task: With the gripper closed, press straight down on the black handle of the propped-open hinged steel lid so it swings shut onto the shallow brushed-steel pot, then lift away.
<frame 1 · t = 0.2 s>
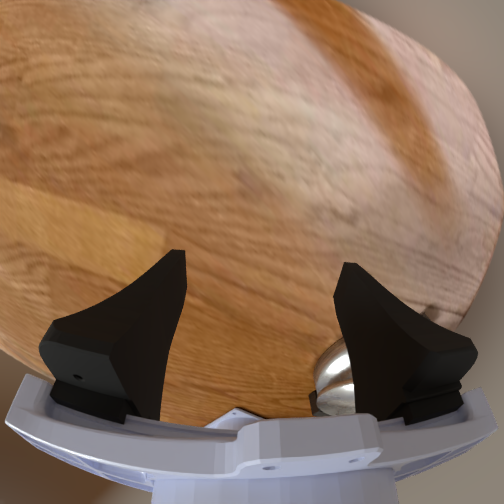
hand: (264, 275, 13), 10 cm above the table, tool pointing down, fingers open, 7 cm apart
pot: (362, 365, 29), on the table
lid: (385, 401, 23), point 6 cm above the table, hinge at 22.0°
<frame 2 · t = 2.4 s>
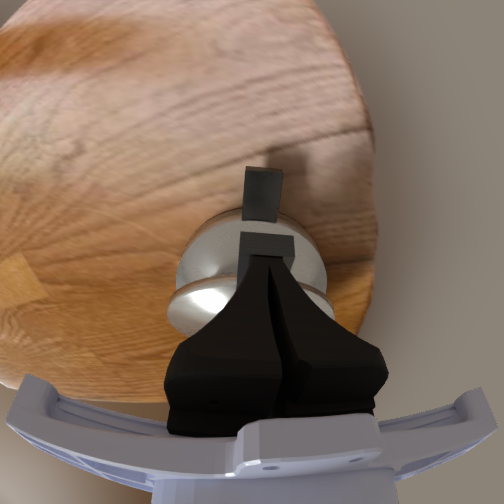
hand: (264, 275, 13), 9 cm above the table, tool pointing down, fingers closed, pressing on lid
pot: (251, 273, 24), on the table
lid: (252, 319, 18), point 6 cm above the table, hinge at 22.0°, touching gripper
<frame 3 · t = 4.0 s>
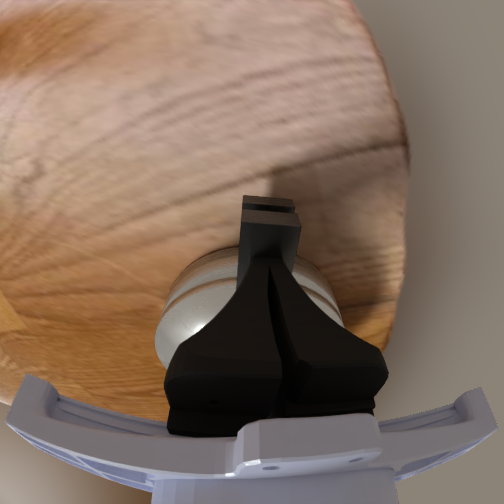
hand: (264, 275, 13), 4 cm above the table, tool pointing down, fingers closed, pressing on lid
pot: (251, 319, 19), on the table
lid: (253, 344, 15), point 4 cm above the table, hinge at 1.2°, touching gripper
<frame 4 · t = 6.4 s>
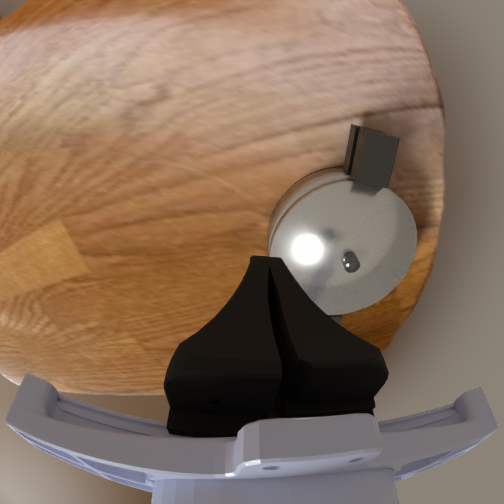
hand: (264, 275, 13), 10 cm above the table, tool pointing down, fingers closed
pot: (337, 235, 23), on the table
lid: (355, 239, 19), point 4 cm above the table, hinge at 1.2°
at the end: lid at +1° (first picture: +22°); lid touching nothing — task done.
